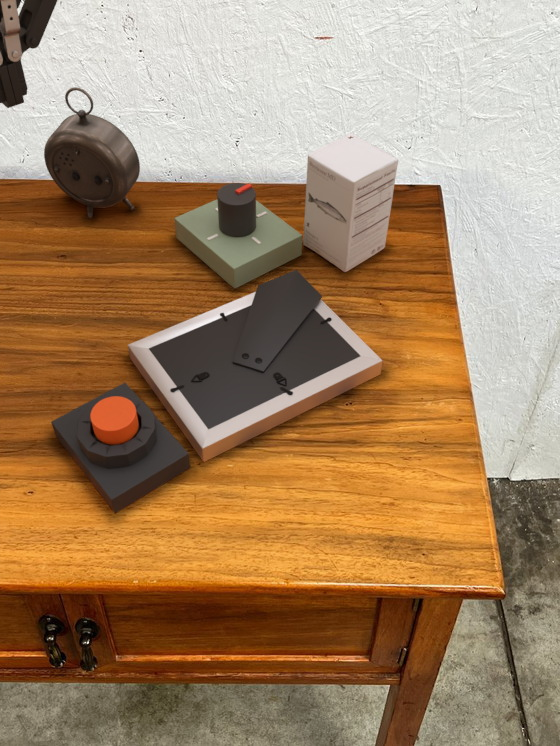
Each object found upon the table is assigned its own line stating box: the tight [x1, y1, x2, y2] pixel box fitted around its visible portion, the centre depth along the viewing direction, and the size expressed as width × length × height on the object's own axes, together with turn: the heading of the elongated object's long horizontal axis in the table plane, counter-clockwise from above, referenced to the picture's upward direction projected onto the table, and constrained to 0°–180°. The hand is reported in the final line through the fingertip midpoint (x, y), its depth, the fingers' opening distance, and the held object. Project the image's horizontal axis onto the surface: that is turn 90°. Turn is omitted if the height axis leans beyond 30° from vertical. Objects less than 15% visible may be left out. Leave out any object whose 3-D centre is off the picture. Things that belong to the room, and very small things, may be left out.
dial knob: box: [216, 182, 257, 237], centre depth 90 cm, size 4×4×5 cm
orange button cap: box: [90, 396, 139, 445], centre depth 69 cm, size 4×4×2 cm
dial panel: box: [173, 199, 303, 290], centre depth 93 cm, size 12×10×3 cm
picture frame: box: [127, 269, 384, 463], centre depth 79 cm, size 16×3×21 cm
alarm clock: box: [43, 86, 141, 219], centre depth 93 cm, size 11×5×16 cm, turn 72°
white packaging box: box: [302, 132, 399, 273], centre depth 89 cm, size 7×7×13 cm
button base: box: [50, 382, 191, 514], centre depth 71 cm, size 11×8×4 cm
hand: (11, 101), depth 67 cm, fingers closed
